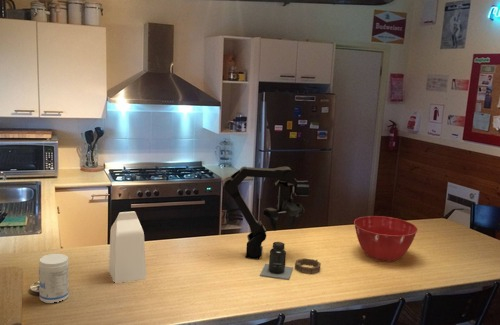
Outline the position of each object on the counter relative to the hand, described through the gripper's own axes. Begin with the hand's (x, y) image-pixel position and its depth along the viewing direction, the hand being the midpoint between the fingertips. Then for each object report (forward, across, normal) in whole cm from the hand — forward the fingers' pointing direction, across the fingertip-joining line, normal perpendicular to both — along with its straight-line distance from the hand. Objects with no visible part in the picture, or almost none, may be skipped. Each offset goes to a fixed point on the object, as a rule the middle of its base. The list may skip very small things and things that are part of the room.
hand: (282, 229), depth 214 cm
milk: (+13, -68, +10) cm, 70 cm away
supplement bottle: (+13, -12, -13) cm, 22 cm away
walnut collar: (+13, +2, -16) cm, 21 cm away
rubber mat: (+13, -12, -13) cm, 22 cm away
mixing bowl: (+13, +44, -20) cm, 50 cm away
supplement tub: (+13, -96, +3) cm, 97 cm away
